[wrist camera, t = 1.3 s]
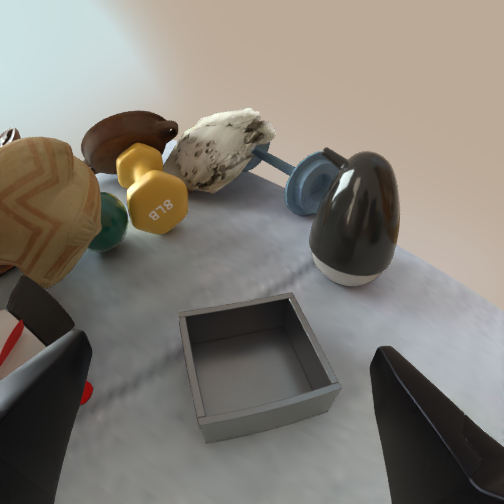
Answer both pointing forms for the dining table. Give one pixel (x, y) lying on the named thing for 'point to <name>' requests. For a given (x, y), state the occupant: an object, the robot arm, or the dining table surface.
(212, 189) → the rock
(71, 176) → the ceramic vessel
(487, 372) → the dining table surface
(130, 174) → the dumbbell
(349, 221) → the dark egg-shaped ceramic
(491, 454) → the robot arm
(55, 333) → the toy rocket
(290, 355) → the basin
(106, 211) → the sphere
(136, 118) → the dish
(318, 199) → the dumbbell
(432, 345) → the dining table surface
